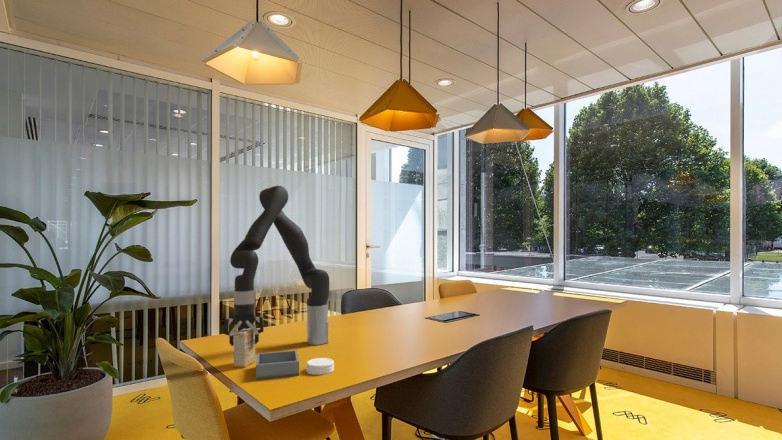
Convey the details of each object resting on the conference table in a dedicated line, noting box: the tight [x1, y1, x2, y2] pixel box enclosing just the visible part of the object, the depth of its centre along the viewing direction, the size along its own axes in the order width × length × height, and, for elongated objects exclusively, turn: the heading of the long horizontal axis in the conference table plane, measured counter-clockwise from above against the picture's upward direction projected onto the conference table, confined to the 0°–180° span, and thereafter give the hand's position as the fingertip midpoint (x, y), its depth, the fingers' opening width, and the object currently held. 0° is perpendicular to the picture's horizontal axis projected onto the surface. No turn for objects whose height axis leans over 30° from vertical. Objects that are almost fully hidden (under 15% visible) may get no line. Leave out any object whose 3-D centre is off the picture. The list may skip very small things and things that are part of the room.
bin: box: [255, 349, 300, 381], centre depth 158 cm, size 15×15×5 cm
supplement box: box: [233, 328, 256, 369], centre depth 167 cm, size 8×5×13 cm, turn 168°
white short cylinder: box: [305, 357, 335, 376], centre depth 158 cm, size 10×10×4 cm
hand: (244, 344), depth 167 cm, fingers open, 8 cm apart
